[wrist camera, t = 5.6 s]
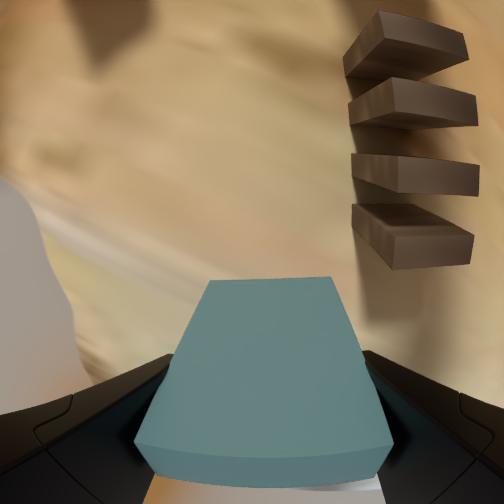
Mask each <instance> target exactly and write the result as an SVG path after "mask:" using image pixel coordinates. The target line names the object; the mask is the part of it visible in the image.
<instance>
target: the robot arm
mask: <svg viewBox="0 0 504 504" xmlns="http://www.w3.org/2000/svg"><path fill="white" fill-rule="evenodd" d="M362 353H363V356H364V359H365V365H366V368H367V370H368V373H369V376H370V378H371V380H372V382H373V384H374V386H375V388H376V391H377V394H378V397H379V400H380V403H381V406H382V409H383V412H384V415H385V418H386V421H387V424H388V427H389V430H390V433H391V436H392V439H393V443H394V445H393V446H392V448H391V450H390V452H389V453H388V455H387V457H386V459H385V460H384V462H383V464H382V465H381V467H380V468H379V470H378V472H377V474H378V478H379V481H380V484H381V488H382V491H383V495H384V498H385V501H386V504H504V409H503V408H500V407H497V406H494V405H491V404H488V403H485V402H483V401H480V400H478V399H475V398H473V397H471V396H468V395H466V394H464V393H460V394H459V392H458V391H456V390H453V389H451V388H449V387H447V386H444V385H442V384H440V383H438V382H436V381H433V380H431V379H429V378H427V377H425V376H423V375H420V374H418V373H416V372H414V371H412V370H410V369H408V368H405V367H403V366H401V365H399V364H397V363H395V362H393V361H391V360H389V359H387V358H384V357H382V356H380V355H378V354H376V353H374V352H372V351H370V350H365V351H362ZM173 355H174V354H166V355H164V356H162V357H160V358H158V359H155V360H153V361H151V362H149V363H146V364H144V365H142V366H140V367H137V368H135V369H133V370H130V371H128V372H126V373H123V374H121V375H119V376H116V377H114V378H112V379H109V380H107V381H104V382H102V383H99V384H97V385H94V386H92V387H90V388H87V389H85V390H82V391H79V392H77V393H74V395H73V394H70V395H68V396H65V397H62V398H60V399H57V400H54V401H51V402H48V403H45V404H42V405H38V406H35V407H31V408H27V409H24V410H19V411H15V412H11V413H7V414H3V415H0V504H142V503H143V501H144V498H145V496H146V494H147V491H148V489H149V486H150V484H151V481H152V479H153V476H154V474H155V472H154V471H153V469H152V468H151V467H150V465H149V464H148V462H147V461H146V459H145V458H144V457H143V455H142V454H141V452H140V451H139V449H138V448H137V446H136V445H135V443H134V440H135V438H136V436H137V433H138V431H139V429H140V427H141V424H142V422H143V420H144V418H145V416H146V413H147V411H148V409H149V407H150V405H151V402H152V400H153V398H154V396H155V394H156V392H157V389H158V387H159V386H160V384H161V382H162V381H163V379H164V377H165V375H166V373H167V371H168V369H169V366H170V362H171V360H172V357H173Z"/></svg>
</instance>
